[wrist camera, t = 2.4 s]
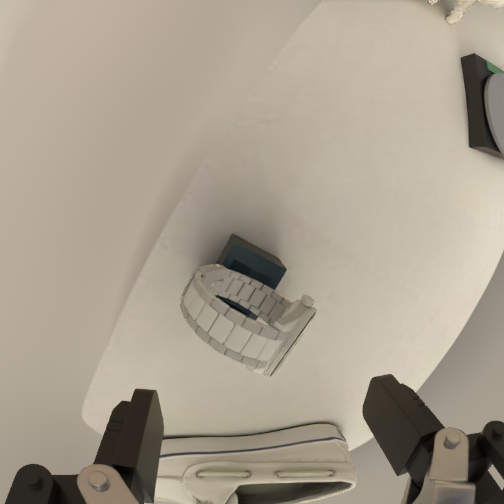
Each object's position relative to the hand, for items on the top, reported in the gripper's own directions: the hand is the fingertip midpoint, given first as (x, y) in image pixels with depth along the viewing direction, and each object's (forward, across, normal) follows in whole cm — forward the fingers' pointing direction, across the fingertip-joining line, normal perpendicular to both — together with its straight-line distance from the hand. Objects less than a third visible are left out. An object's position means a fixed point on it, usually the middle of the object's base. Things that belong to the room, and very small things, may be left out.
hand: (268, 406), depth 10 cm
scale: (+15, -29, -19) cm, 38 cm away
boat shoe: (+15, +2, +24) cm, 29 cm away
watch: (+15, 0, 0) cm, 16 cm away
